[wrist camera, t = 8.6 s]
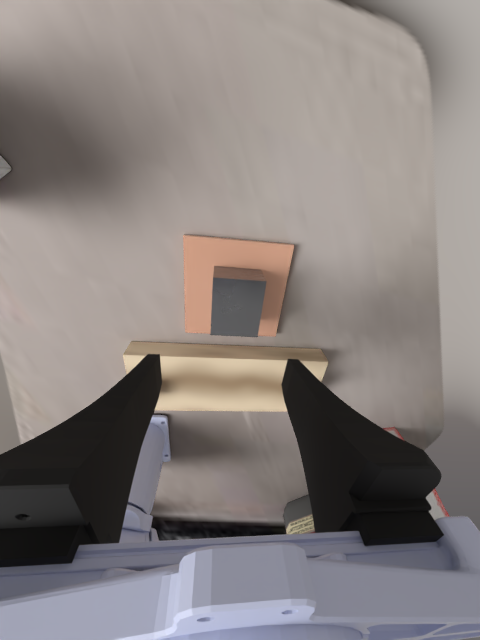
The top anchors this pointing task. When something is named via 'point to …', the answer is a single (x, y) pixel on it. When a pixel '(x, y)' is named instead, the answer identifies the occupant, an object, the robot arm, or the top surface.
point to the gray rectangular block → (237, 301)
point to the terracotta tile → (238, 254)
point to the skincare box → (4, 167)
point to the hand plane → (223, 374)
